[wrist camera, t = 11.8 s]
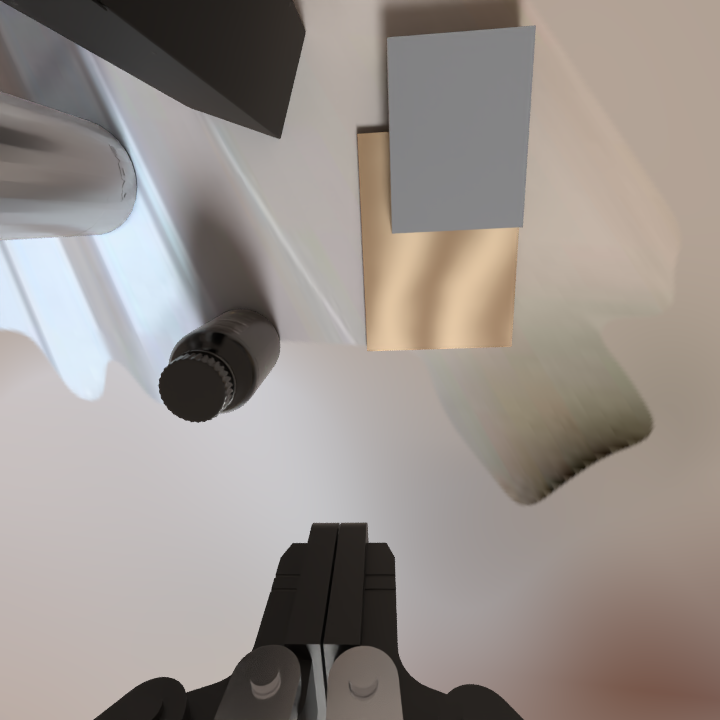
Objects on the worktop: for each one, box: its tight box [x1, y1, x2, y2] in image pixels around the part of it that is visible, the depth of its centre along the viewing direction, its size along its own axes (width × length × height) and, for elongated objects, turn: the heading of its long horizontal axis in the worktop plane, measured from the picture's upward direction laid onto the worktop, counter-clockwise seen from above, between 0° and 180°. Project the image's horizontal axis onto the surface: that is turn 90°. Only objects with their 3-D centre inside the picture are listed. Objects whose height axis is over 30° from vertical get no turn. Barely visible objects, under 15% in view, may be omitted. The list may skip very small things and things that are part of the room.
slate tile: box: [387, 26, 536, 234], centre depth 33 cm, size 10×3×13 cm
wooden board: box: [357, 132, 519, 351], centre depth 37 cm, size 13×18×1 cm
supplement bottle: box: [159, 309, 280, 423], centre depth 35 cm, size 7×7×12 cm
